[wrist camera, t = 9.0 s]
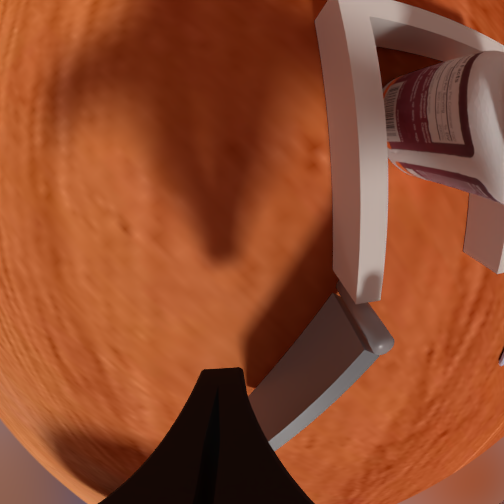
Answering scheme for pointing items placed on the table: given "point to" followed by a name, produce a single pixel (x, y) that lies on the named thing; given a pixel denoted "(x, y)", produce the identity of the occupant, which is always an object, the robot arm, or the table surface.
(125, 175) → the table surface
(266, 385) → the channel cover
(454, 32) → the channel
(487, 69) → the pill bottle
